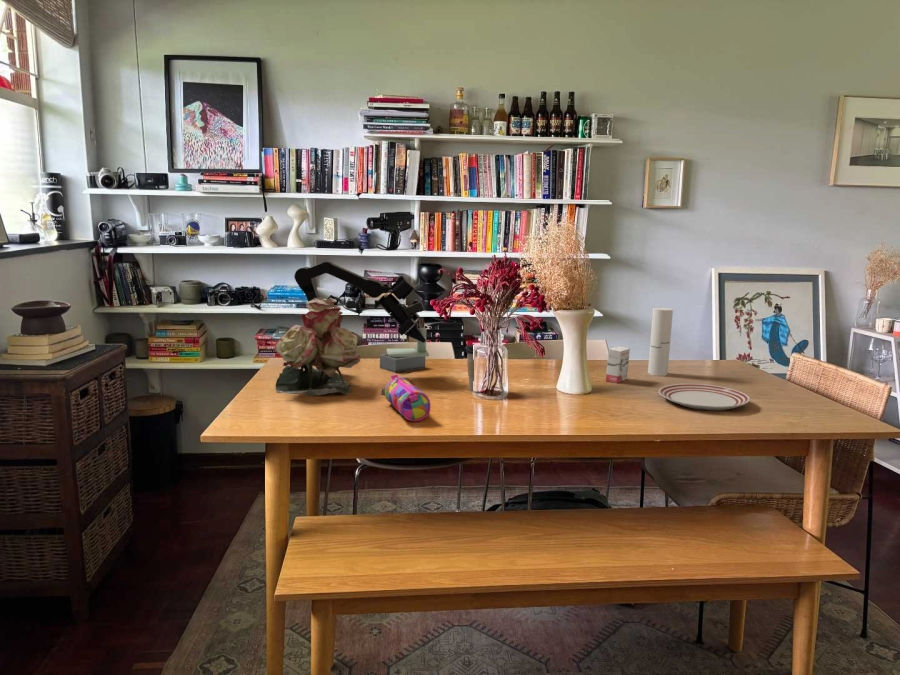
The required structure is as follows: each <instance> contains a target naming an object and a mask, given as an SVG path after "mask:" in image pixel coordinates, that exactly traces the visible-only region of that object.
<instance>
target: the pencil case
mask: <svg viewBox="0 0 900 675" xmlns="http://www.w3.org/2000/svg"><path fill="white" fill-rule="evenodd" d="M390 378H391V380H390V381H389V382H388V383H387V384H386V385H385V388H384V389H383V388H381V394H380V395H381V396H385V399H386V400H387V402H388V403H389V404H391V405H392V407H393V408H394V409H395V410H396V411H398V412H399V414H400V415H401V416H403V418H405V419H406V420H407V421H410V422H420V421H423V420H424V419H425V418H427V416H429V414H430V412H431V400H430V398H429V396H428V395H427V394H426V393H424V392H423V391H421V389H419V388H418V387H416V386H415V385H413V384H412V383H411V382H410V381H409V380H408V379H407V378H405V377H403V376H402V377H401V376H399V375H398V374H394V375H391V376H390Z"/></svg>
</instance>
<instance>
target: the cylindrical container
mask: <svg viewBox="0 0 900 675" xmlns="http://www.w3.org/2000/svg"><path fill="white" fill-rule="evenodd" d="M673 312H674V309H673V308H669V307H653V308H652V318H651V327H650V328H651V329H650V331H651V332H650V340H649V341H650V342H649V344H650V345H649V353H648V354H649V356H648V366H647V367H648V368H647V374H648V373H649V374H648V375H650V374H651V375H650V376H654V375H656V376H655V377H666V375H667V376H668V370H669V360H670V349H671V348H670V347H671V337H672V328H673V327H672V325H673Z"/></svg>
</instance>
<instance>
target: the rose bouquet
mask: <svg viewBox="0 0 900 675" xmlns="http://www.w3.org/2000/svg"><path fill="white" fill-rule="evenodd" d="M335 303H337V299H334V298H332V297H329V298H324V297H320V298H314V299H313V300H312V301H309V302H308V301H307V302H305V305H306V307H307V309H308V312H307V313H304V314H300V315H299V317H300V318H301V320H302V322H303V323H302V324H303V325H299V324H294V325H293V326H291V327H289V329H288V330H287V331H286V332H285V334H283V335H282V336H280V338H279V339H278V341H277V342H276V343H275V344H274V346H273V351H274V352H275V353H277V354H279V356H280V357H281V358H282V359H283V361H285V362H283V364H282V366H283V367H284V368H283V369H282V371H281V373H279V376H278V377H277V379H276V382H275V392H277V393H280V394H285V396H286V395H288V394H289V395H291V394H304V395H307V396H317V397H318V396H323V395H327V394H334V393H341V394H343V395H346V396H347V395H349V394H350V393H352V390H351V386H354V385H355V384H354V383H351V384H348V383H349V381H348V380H347V379H344V377H343V374H342V372H341V370H340V368H344V369H352V367H354V366H355V365H357V364H359V363H360V362H361V355H360V352H356V349H357V348H358V346H357V344H358V340H359V338H358V336H357V335H356V334H354V333H353V332H352V331H351V330H349V329H347V328H345V327H341V326H342V325H341V323H342V322H343V319H344V315H342V314H343V312H342V311H341V310H342V308H341V307H340V306H339V305H335ZM314 367H315V368H314ZM335 372H336V373H335ZM337 373H338V374H337Z"/></svg>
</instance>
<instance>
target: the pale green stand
mask: <svg viewBox="0 0 900 675" xmlns="http://www.w3.org/2000/svg"><path fill="white" fill-rule="evenodd" d="M418 329H419V331H420V332H421V334H422V335H423V337H424V338H425V340H426V338H427V328H426V327H425V328H424V327H420V328H418ZM386 354H388V357H391V356H392V357H425V358H426V357H429V356H430V353H429V352H428V351H427V340H426V341H425V342H424V343H423V342H421V341H419V340H416V348H386Z"/></svg>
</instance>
